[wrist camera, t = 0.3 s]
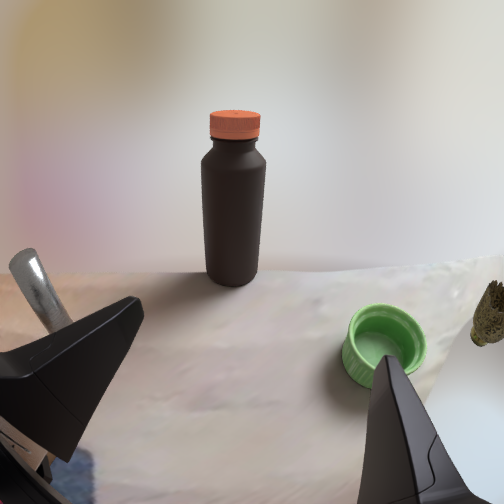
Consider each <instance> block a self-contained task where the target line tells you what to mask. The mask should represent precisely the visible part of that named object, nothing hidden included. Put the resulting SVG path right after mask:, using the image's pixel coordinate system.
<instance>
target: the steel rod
mask: <svg viewBox="0 0 504 504" xmlns="http://www.w3.org/2000/svg"><path fill="white" fill-rule="evenodd" d="M9 269H10V271H11V273H12V275H13V277H14V279H15V280H16V282H17V284H18V286H19V288H20V289H21V291H22V293H23V294H24V296H25V298H26V299H27V301H28V303H29V304H30V306H31V307H32V309H33V310H34V312H35V313H36V315H37V316H38V318H39V319H40V321H41V322H42V324H43V325H44V327H45V328H46V329H47V331H48V332H49V334H52V333H54V332H57V331H58V330H60V329H62V328H64V327H66V326H68V325H70V324H72V323H73V321H72V320H71V318H70V316H69V315H68V313H67V311H66V309H65V308H64V306H63V304H62V302H61V301H60V299H59V297H58V295H57V293H56V292H55V290H54V288H53V286H52V284H51V282H50V280H49V278H48V276H47V274H46V272H45V270H44V268H43V266H42V264H41V261H40V259H39V257H38V255H37V253H36V251H35V249H32V248H28V249H24V250H22V251H20V252H19V253H17V254H16V255H15V256H14V257H13V258H12V260H11V261H10V264H9Z"/></svg>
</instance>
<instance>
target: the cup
mask: <svg viewBox="0 0 504 504" xmlns="http://www.w3.org/2000/svg"><path fill="white" fill-rule="evenodd" d="M493 281H494V280H493ZM493 281H492V282H491V283H489V286H488V287H487V289H486V291H485V293H484V295H483V296H482V298H481V300H480V302H479V304H478V306H477V308H476V310H475V313H474V317H473V327H472V329H471V333H470V336H471V339H472V341H473V342H474V343H475V344H476V345H477V346H480V347H482V346H485V345H487V344H488V343H496V342H498V341H500V340H502V339H503V338H504V287H502V285H503V284H502V282H500V283H499V284H498V286H497V283H498V282H497V280H495V281H494V282H493Z"/></svg>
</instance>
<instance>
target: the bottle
mask: <svg viewBox="0 0 504 504" xmlns="http://www.w3.org/2000/svg"><path fill="white" fill-rule="evenodd" d="M259 128H260V114H258V113H255V112H250V111H242V110H224V111H216V112H213V113H211V114H210V135H211V137H210V138H211V140H212V141H213V148H212V149H211V150H210V151H209V152H208V153H207V154H206V155H205V156H204V158H203V159H202V161H201V180H202V181H201V183H202V208H203V227H204V243H205V258H206V270H207V274H208V275H209V277H210V278H211V279H212V280H213V281H215V282H216V283H219V284H221V285H225V286H239V285H243V284H245V283H248V282H249V281H251V280H252V279H253V278H254V277H255V275H256V273H257V268H258V256H259V244H260V233H261V221H262V209H263V197H264V185H265V184H264V183H265V172H266V160H265V159H264V158H263V156H262V155H261V154H260V153H259V152H258V151H257V150H256V148H255V142H256V141H258V136H259Z"/></svg>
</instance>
